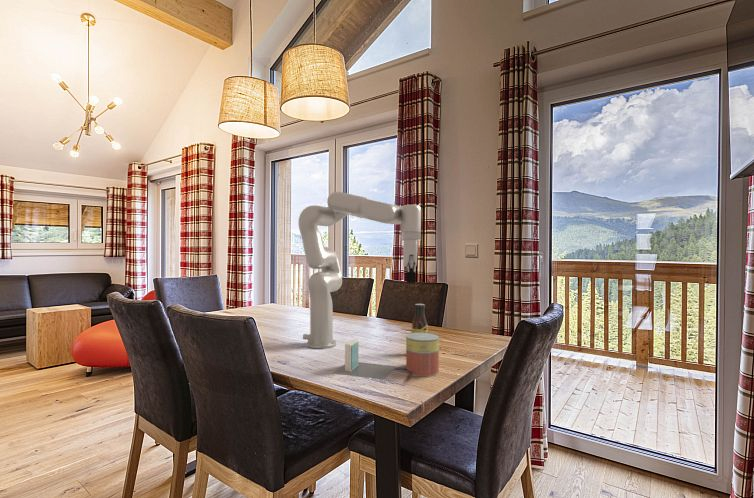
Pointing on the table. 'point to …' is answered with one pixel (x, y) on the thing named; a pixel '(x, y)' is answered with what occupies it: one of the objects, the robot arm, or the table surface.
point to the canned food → (422, 354)
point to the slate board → (367, 370)
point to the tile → (351, 355)
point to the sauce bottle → (419, 320)
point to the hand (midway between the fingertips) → (410, 281)
